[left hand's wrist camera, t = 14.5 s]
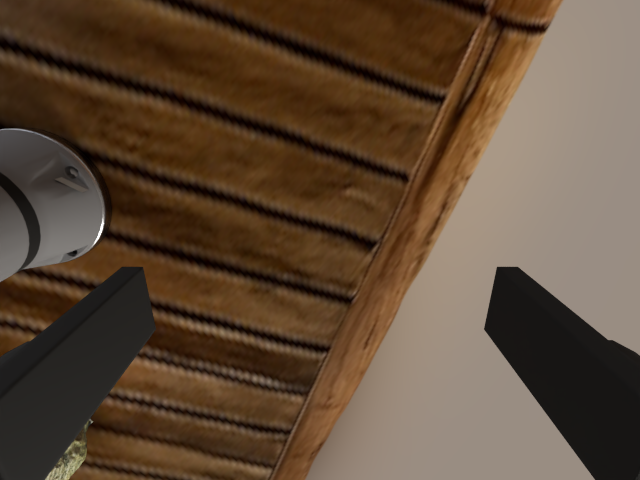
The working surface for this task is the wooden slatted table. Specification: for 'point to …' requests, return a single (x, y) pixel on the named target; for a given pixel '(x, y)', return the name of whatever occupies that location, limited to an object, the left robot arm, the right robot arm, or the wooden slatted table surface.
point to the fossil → (71, 457)
